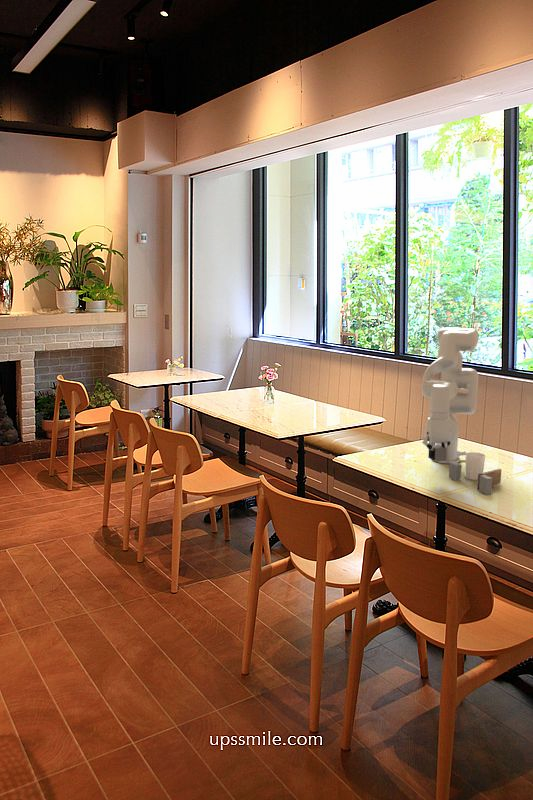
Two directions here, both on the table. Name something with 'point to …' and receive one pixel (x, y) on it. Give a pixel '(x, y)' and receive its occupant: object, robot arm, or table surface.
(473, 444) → the table surface
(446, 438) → the robot arm
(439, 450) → the grey rectangular block
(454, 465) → the block
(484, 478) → the hinge jamb
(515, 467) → the table surface
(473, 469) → the white cup
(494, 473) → the door
